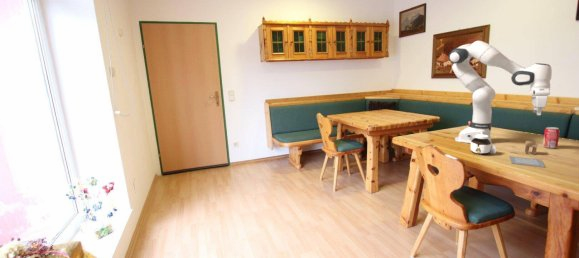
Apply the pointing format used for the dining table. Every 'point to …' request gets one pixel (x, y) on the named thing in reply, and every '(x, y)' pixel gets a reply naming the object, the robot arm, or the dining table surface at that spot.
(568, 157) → the dining table surface
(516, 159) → the pad
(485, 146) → the spread jar
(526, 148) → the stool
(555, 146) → the soda can
